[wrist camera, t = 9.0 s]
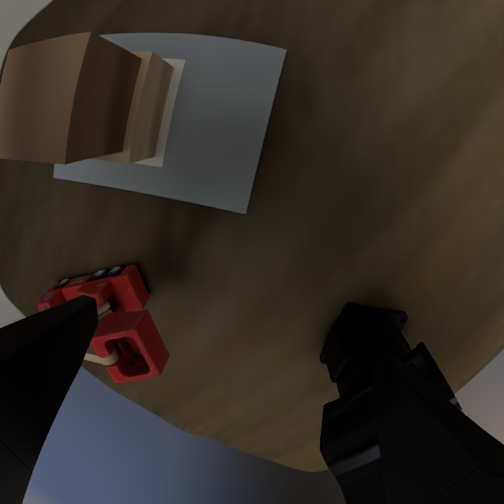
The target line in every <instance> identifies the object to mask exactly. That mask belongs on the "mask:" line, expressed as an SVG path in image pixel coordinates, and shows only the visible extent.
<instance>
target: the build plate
mask: <svg viewBox="0 0 504 504" xmlns="http://www.w3.org/2000/svg"><path fill="white" fill-rule="evenodd" d="M99 36H101V37H103V38H105V39H107V40H109V41H111V42H113V43H114V44H116V45H118V46H120V47H122V48H124V49H126V50H127V51H146V52H154V53H155V54H156V55H158V56H159V57H161V58H162V59H163V60H165V61H166V62H167V63H169V64H170V65H172V66H173V67H174V70H173V74H172V78H171V82H170V86H169V90H168V94H167V98H166V103H165V107H164V112H163V116H162V121H161V126H160V131H159V136H158V142H157V147H156V153H155V157H153V158H149V159H145V160H141V161H138V162H134V163H131V164H125V163H118V162H111V161H104V160H96V159H86V160H82V161H78V162H74V163H70V164H66V165H62V164H54V178H59V179H66V180H72V181H78V182H84V183H90V184H96V185H102V186H108V187H113V188H119V189H124V190H130V191H135V192H141V193H146V194H151V195H156V196H161V197H166V198H171V199H176V200H181V201H186V202H191V203H196V204H201V205H205V206H210V207H215V208H219V209H224V210H229V211H233V212H238V213H242V214H246V211H247V207H248V203H249V199H250V194H251V190H252V186H253V182H254V178H255V174H256V169H257V165H258V161H259V157H260V153H261V149H262V145H263V141H264V137H265V133H266V129H267V125H268V121H269V117H270V113H271V109H272V105H273V101H274V97H275V93H276V89H277V85H278V81H279V77H280V74H281V70H282V66H283V62H284V58H285V54H286V51H287V50H286V49H282V48H278V47H274V46H269V45H264V44H259V43H254V42H249V41H243V40H237V39H230V38H223V37H215V36H205V35H194V34H179V33H123V34H108V35H99Z"/></svg>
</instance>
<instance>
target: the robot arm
mask: <svg viewBox="0 0 504 504" xmlns="http://www.w3.org/2000/svg"><path fill="white" fill-rule="evenodd" d="M349 309H351V310H350V311H348V310H349ZM402 318H403V319H402ZM407 320H408V316H407V315H406V313H404V312H399V311H393V310H387V309H381V308H375V307H369V306H364V305H358V304H352V303H349V304H347V305H345V306H344V308H343V310H342V312H341V315H340V317H339V319H338V321H337V323H336V325H335V326H333V328H332V330H331V332H330V334H329V336H328V338H327V340H326V342H325V344H324V346H323V352H322V354H321V355H320V362H321V363H322V364H327V367H328V371H329V375H330V379H331V381H332V382H333V383H336V384H337V388H338V392H339V396H340V398H338V399H336V400H334V401H332V402H328V403H326V404H325V405H324V407H323V418H322V428H321V437H320V452H321V454H322V456H323V458H324V461H325V463H326V464H327V466H328V468H329V469H330V470H331V472H332V473H333V474H334V476H335V477H336V479H337V481H338V483H339V485H340V487H341V489H342V492H343V495H344V498H345V500H346V503H347V504H504V444H502V443H501V442H500V441H498V440H497V439H495V438H494V437H493V436H491V435H490V434H489V433H487V432H486V431H485V430H483V429H482V428H481V427H480V426H478V425H477V424H476V423H475V422H474V421H472V420H471V419H470V418H469V417H468V416H465V414H464V413H463V412H462V411H461V410H462V408H461V406H460V405H459V403H458V401H457V399H456V397H455V395H454V393H453V392H452V390H451V388H450V386H449V385H448V383H447V381H446V379H445V378H444V376H443V374H442V372H441V371H440V369H439V368H438V366H437V364H436V363H435V361H434V359H433V358H432V356H431V355H430V353H429V351H428V350H427V348H426V347H425V345H424V344H423V342H420V343H419V344H418V345H416V346H417V347H416V348H414V349H413V350H411V348H410V346H409V345H408V343H407V341H406V340H405V338H404V336H403V334H402V333H401V330H402V329H403V327H404V325H405V323H406V322H407ZM97 326H98V311H97V302H96V299H95V298H93V297H90V296H87V295H81V296H79V297H76V298H74V299H71V300H69V301H66V302H64V303H61V304H58V305H56V306H53V307H51V308H48V309H46V310H43V311H41V312H39V313H36V314H34V315H31V316H29V317H26V318H24V319H21V320H19V321H16V322H14V323H12V324H9V325H7V326H4V327H2V328H0V504H22V502H23V499H24V496H25V493H26V490H27V487H28V484H29V481H30V478H31V475H32V471H33V469H34V467H35V464H36V462H37V459H38V456H39V454H40V451H41V449H42V447H43V444H44V442H45V440H46V437H47V435H48V433H49V430H50V428H51V426H52V424H53V421H54V419H55V417H56V415H57V413H58V411H59V408H60V406H61V404H62V402H63V400H64V398H65V396H66V394H67V392H68V390H69V388H70V386H71V384H72V382H73V380H74V379H75V377H76V375H77V373H78V371H79V369H80V367H81V365H82V362H83V360H84V357H85V355H86V352H87V350H88V348H89V345H90V343H91V340H92V338H93V336H94V333H95V331H96V329H97Z"/></svg>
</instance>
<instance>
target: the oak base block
mask: <svg viewBox="0 0 504 504" xmlns="http://www.w3.org/2000/svg"><path fill="white" fill-rule="evenodd" d="M129 52H131V53H133V54H135V55H136V56H138V57H140V58H142V61H141V65H140V68H139V72H138V76H137V80H136V84H135V88H134V93H133V97H132V102H131V107H130V111H129V117H128V122H127V127H126V133H125V139H124V146H123V152H120V153H114V154H109V155H105V156H100V157H95V158H91V159H96V160H104V161H111V162H118V163H125V164H131V163H134V162H138V161H141V160H145V159H149V158H153V157H155V153H156V147H157V142H158V136H159V131H160V126H161V121H162V116H163V112H164V107H165V103H166V98H167V94H168V90H169V86H170V82H171V78H172V74H173V70H174V67H173V66H172V65H170V64H169V63H167V62H166V61H165V60H163V59H162V58H161V57H159V56H158V55H156V54H155V53H154V52H146V51H129Z"/></svg>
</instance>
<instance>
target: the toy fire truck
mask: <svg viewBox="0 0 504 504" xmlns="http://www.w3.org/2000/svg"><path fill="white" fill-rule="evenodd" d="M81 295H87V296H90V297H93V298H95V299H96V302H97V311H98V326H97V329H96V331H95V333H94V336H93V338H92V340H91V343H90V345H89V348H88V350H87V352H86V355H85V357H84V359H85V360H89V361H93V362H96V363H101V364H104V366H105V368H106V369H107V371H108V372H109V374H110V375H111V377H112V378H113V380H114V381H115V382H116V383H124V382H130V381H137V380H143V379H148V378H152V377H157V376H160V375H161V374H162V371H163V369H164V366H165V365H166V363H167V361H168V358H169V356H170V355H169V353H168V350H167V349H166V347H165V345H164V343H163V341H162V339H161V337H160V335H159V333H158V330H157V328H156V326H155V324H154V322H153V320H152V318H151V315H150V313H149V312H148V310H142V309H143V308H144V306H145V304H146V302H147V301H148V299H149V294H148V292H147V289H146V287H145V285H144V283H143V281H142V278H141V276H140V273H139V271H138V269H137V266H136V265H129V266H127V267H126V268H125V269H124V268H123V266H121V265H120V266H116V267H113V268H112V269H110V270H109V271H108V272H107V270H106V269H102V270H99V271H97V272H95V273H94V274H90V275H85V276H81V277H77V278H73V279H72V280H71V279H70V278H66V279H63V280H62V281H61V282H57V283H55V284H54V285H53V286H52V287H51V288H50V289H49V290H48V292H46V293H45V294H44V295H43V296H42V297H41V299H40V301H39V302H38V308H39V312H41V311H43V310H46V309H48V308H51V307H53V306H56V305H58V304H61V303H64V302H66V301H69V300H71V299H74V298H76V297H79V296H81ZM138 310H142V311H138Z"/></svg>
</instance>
